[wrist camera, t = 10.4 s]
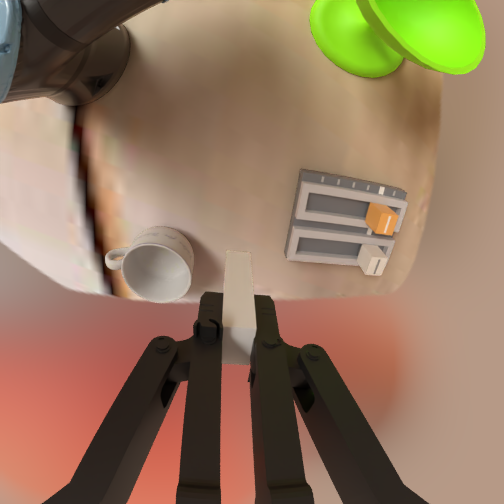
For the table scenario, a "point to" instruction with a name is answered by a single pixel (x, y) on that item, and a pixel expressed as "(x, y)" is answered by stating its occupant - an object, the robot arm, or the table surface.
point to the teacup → (156, 264)
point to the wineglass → (399, 34)
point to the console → (338, 218)
